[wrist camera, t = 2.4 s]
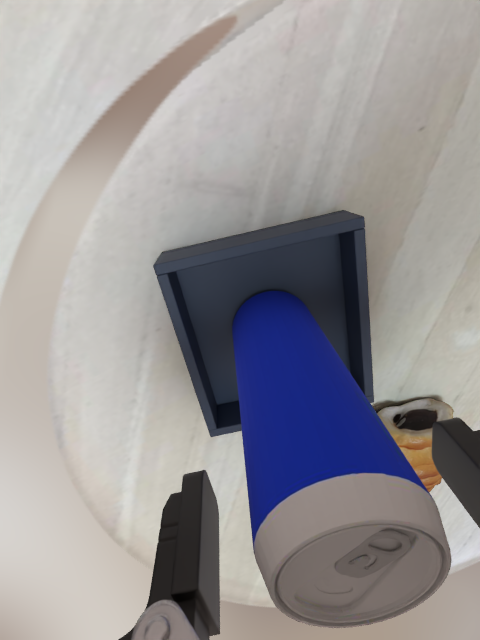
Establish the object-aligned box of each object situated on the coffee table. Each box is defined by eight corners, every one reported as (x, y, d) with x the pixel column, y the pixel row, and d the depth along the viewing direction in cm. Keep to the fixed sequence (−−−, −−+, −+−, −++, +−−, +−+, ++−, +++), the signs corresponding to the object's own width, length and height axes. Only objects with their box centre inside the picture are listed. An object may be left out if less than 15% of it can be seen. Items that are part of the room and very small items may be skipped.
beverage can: (281, 369, 23) (372, 648, 10) (217, 338, 22) (219, 611, 8) (324, 310, 22) (507, 548, 8) (258, 272, 20) (343, 481, 7)
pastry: (435, 474, 30) (464, 514, 26) (361, 487, 30) (379, 529, 26) (444, 390, 26) (479, 424, 22) (358, 405, 26) (379, 442, 22)
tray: (161, 252, 20) (152, 265, 17) (343, 209, 20) (364, 216, 17) (211, 408, 25) (210, 437, 22) (357, 376, 25) (374, 402, 22)
